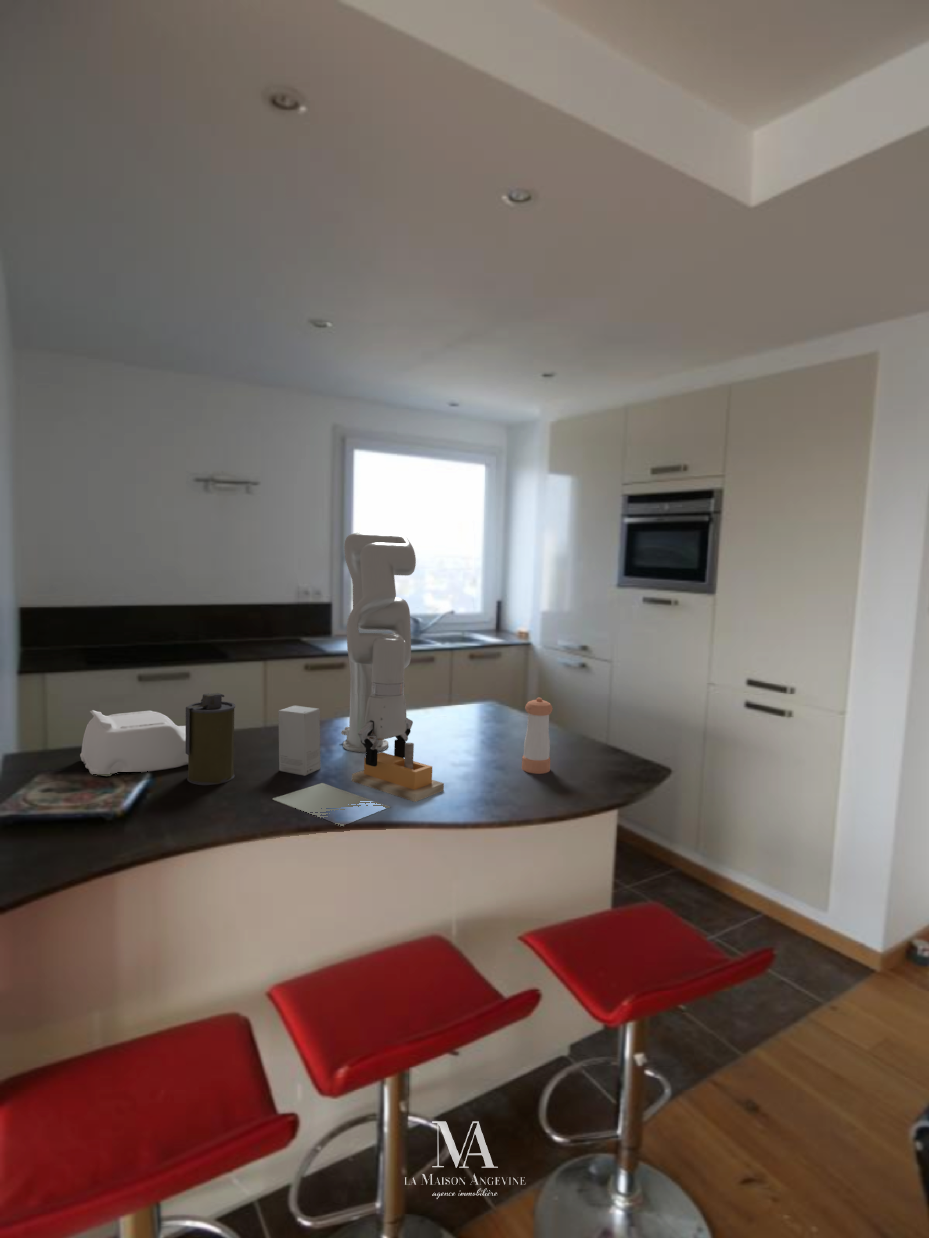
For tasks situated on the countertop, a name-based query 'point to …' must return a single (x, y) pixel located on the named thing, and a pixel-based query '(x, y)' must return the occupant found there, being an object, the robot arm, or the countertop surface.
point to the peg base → (398, 789)
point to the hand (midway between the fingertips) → (385, 761)
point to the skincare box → (299, 740)
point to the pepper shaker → (537, 737)
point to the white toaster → (133, 743)
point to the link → (399, 771)
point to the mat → (322, 799)
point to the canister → (210, 740)
